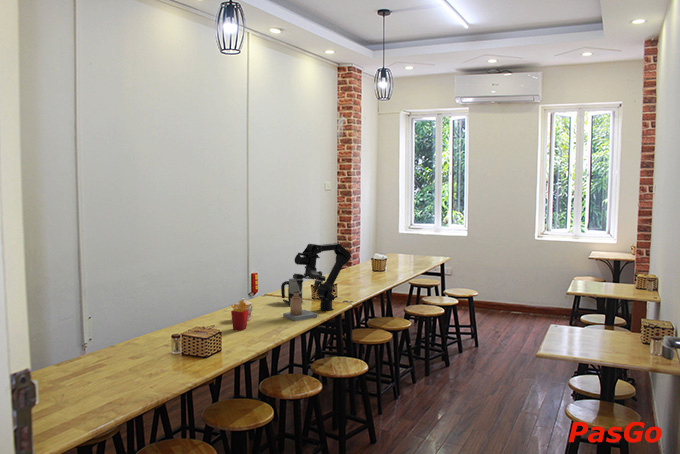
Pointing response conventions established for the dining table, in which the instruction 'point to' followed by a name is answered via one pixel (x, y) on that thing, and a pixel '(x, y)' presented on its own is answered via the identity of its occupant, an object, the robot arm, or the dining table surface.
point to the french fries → (240, 316)
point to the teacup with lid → (246, 308)
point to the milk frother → (290, 289)
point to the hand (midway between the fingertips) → (307, 292)
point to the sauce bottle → (296, 304)
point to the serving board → (304, 315)
